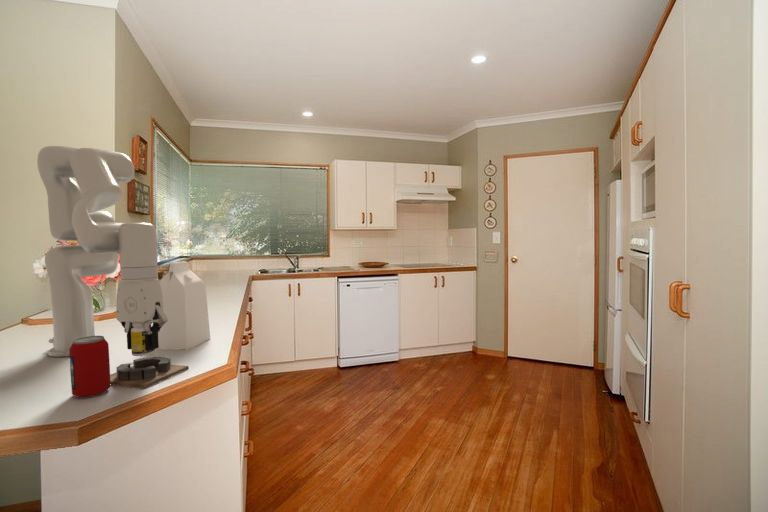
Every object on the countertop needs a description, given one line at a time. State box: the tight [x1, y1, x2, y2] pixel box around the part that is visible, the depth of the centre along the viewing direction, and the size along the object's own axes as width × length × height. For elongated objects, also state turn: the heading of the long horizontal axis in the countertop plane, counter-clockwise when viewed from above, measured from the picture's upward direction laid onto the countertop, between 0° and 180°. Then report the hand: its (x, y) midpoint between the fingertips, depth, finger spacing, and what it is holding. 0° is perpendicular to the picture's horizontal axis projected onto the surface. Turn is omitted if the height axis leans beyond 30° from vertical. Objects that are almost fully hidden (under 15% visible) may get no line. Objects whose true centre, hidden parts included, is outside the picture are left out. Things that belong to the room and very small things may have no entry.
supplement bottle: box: [131, 322, 156, 357], centre depth 93 cm, size 5×5×8 cm
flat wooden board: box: [110, 356, 190, 389], centre depth 93 cm, size 14×13×3 cm
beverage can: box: [69, 335, 111, 399], centre depth 83 cm, size 7×7×12 cm
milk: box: [155, 261, 211, 350], centre depth 121 cm, size 12×12×26 cm
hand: (143, 347), depth 93 cm, fingers closed on supplement bottle, 4 cm apart
